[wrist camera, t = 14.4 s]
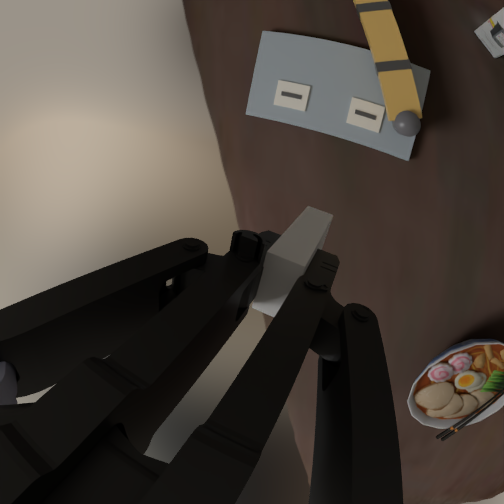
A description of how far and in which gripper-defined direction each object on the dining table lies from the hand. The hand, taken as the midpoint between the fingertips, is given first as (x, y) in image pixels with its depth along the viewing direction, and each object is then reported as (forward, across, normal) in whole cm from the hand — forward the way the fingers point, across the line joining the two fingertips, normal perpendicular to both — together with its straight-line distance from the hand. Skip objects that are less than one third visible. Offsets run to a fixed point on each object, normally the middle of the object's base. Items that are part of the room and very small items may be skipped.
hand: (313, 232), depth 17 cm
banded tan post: (+24, 0, +17) cm, 29 cm away
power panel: (+26, -5, +10) cm, 28 cm away
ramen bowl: (+27, +33, -24) cm, 49 cm away
